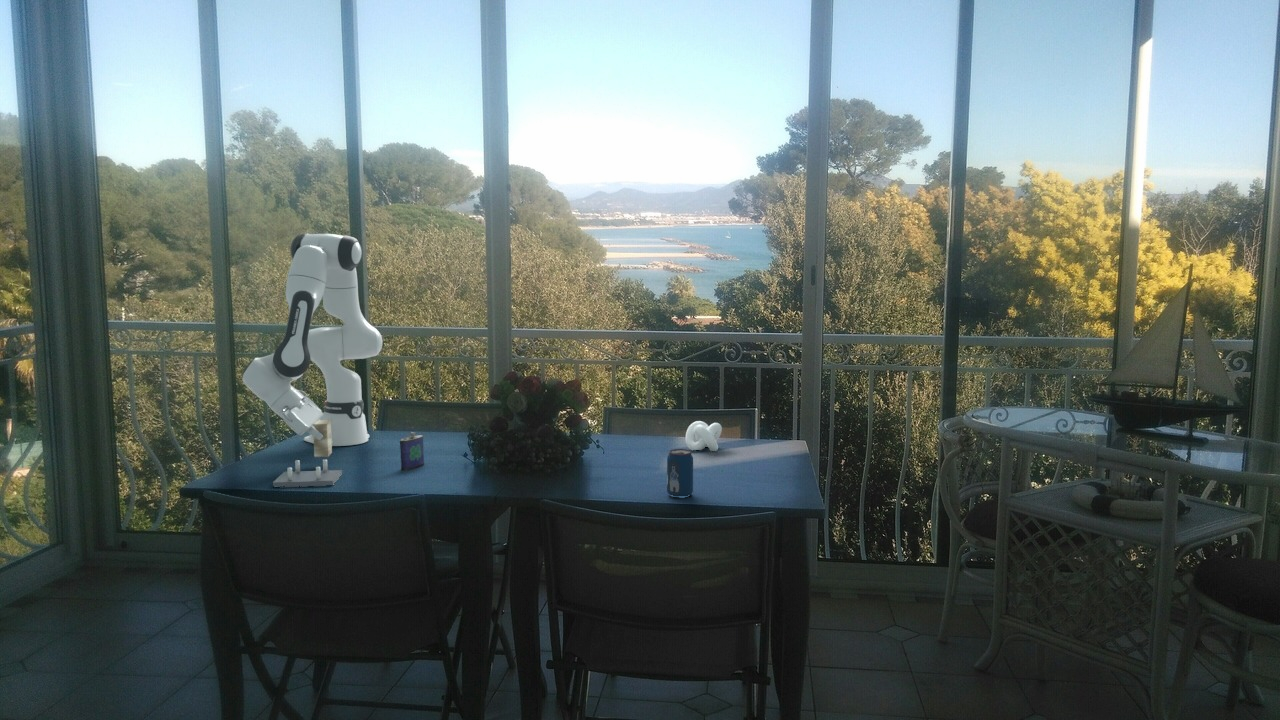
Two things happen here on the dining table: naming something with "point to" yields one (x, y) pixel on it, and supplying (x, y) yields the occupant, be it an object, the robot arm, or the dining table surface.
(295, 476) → the chassis plate
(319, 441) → the birch block
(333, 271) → the robot arm
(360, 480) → the dining table surface
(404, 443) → the flask
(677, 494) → the soda can
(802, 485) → the dining table surface
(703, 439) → the white knot sculpture
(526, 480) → the dining table surface
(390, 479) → the dining table surface
